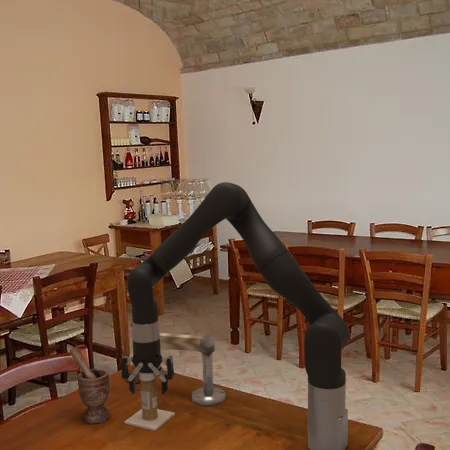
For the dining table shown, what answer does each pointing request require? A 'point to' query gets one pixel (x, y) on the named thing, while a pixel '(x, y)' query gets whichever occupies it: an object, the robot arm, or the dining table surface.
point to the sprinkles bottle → (148, 395)
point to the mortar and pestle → (92, 389)
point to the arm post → (208, 386)
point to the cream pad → (149, 424)
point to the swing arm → (187, 342)
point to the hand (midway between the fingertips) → (148, 392)
